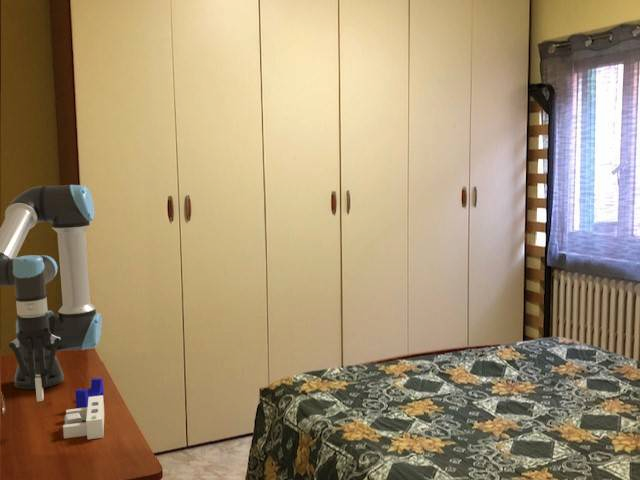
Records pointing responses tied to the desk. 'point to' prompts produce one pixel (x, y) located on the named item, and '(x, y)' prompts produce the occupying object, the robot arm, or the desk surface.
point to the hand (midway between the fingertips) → (40, 399)
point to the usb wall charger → (73, 418)
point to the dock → (87, 420)
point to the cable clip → (89, 392)
